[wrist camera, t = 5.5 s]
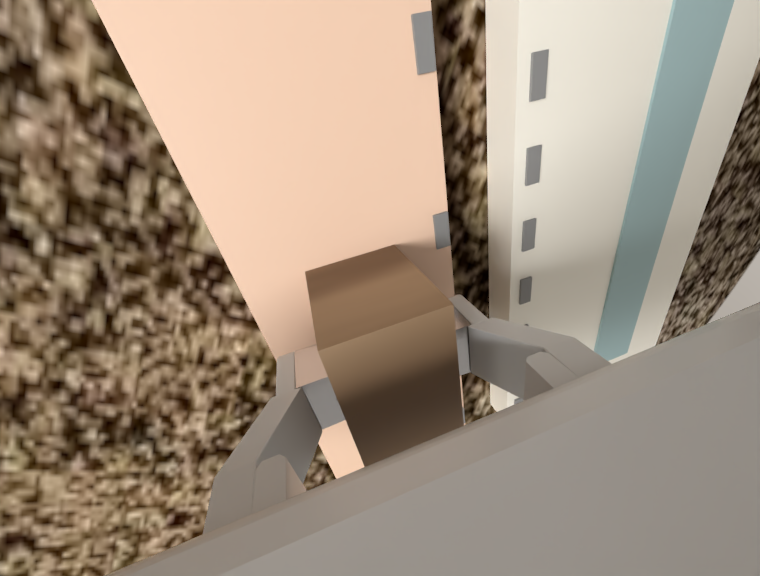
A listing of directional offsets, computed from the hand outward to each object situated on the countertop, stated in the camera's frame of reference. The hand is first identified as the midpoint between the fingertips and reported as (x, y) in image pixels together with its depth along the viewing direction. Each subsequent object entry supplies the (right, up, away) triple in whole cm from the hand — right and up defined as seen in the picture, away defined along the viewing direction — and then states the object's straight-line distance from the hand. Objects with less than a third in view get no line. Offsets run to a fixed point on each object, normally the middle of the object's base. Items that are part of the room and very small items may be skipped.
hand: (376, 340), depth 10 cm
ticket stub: (-1, +1, +2) cm, 3 cm away
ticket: (+10, +5, +4) cm, 11 cm away
